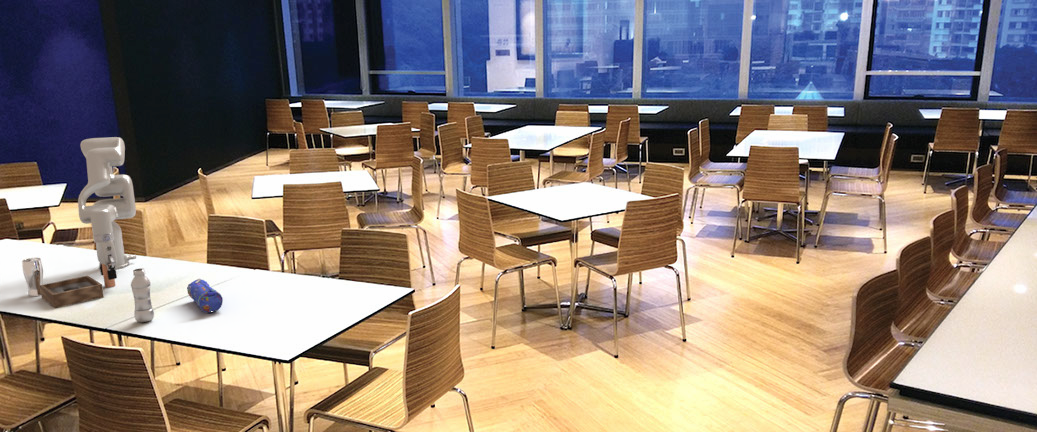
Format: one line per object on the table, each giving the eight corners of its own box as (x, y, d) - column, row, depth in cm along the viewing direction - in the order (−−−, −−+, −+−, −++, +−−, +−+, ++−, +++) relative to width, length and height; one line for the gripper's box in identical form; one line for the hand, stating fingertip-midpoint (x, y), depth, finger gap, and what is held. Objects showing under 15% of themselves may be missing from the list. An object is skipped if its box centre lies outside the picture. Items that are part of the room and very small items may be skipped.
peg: (113, 284, 337) (109, 257, 335) (116, 286, 335) (113, 259, 332) (103, 286, 335) (99, 259, 332) (106, 288, 332) (103, 261, 329)
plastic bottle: (139, 318, 295) (132, 267, 290) (157, 317, 295) (151, 267, 291) (132, 324, 288) (125, 272, 284) (151, 323, 289) (144, 272, 284)
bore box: (89, 287, 333) (87, 275, 331) (103, 297, 320) (102, 284, 319) (41, 298, 320) (39, 285, 319) (54, 308, 308) (52, 294, 306)
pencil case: (187, 301, 314) (185, 278, 312) (210, 297, 319) (207, 274, 317) (201, 316, 296) (198, 292, 294) (224, 311, 301) (222, 288, 299)
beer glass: (50, 293, 327) (45, 258, 323) (34, 298, 320) (28, 262, 317) (39, 291, 329) (34, 256, 326) (23, 295, 323) (17, 261, 320)
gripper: (120, 239, 326) (125, 279, 330) (105, 232, 338) (111, 271, 342) (100, 242, 321) (106, 283, 325) (87, 235, 333) (92, 274, 337)
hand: (108, 276), depth 334 cm, fingers open, 8 cm apart
